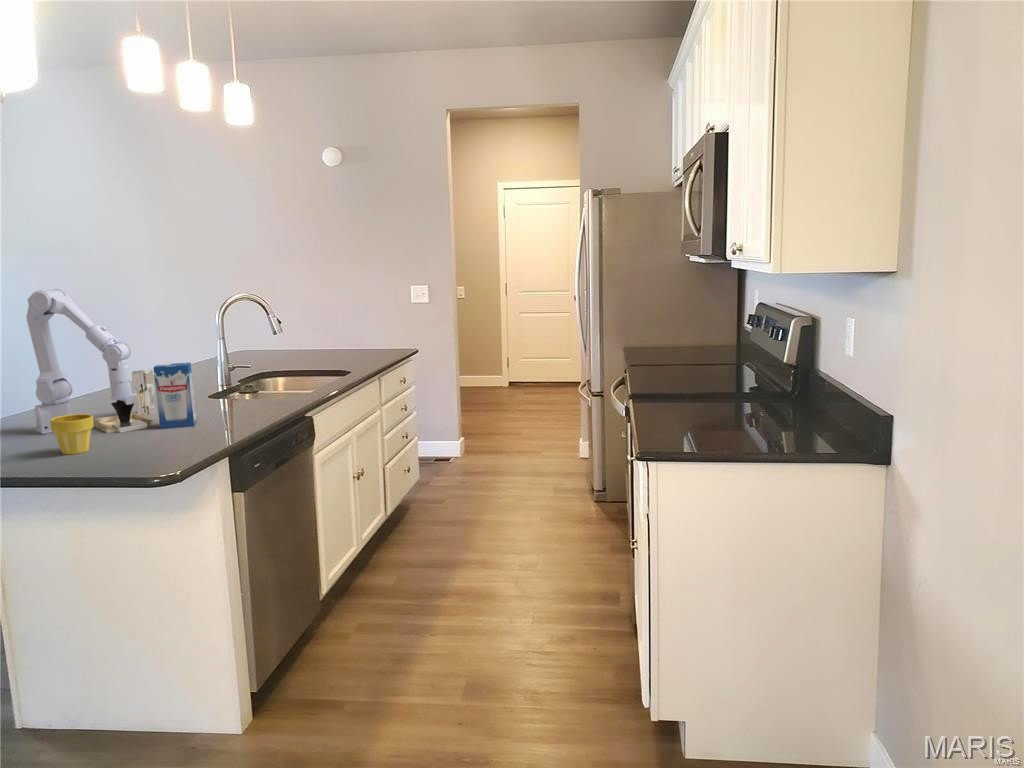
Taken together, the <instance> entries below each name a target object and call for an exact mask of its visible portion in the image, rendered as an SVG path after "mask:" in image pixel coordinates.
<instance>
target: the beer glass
mask: <svg viewBox="0 0 1024 768" xmlns="http://www.w3.org/2000/svg"><path fill="white" fill-rule="evenodd" d="M130 374H131V385H132V386H131V388H132V391H133V393H135V394H136V396H134V397H135V401H136V404H137V411H136V413H137V414H139V415H142V416H144V415H146V416H147V415H152V414H156V413H157V409H156V406H155V395H156V386H155V377H154V369H140V370H135V371H134V370H133V371H131V373H130Z"/></svg>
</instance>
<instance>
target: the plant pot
mask: <svg viewBox="0 0 1024 768" xmlns="http://www.w3.org/2000/svg"><path fill="white" fill-rule="evenodd" d="M93 419H94V416H93V415H92V414H89V413H75V414H74V413H73V414H71V415H65V416H59V417H55V418H52V419H51V420H50V423H51V430H52V432H51V433H53V434H54V435H55V437H56V440H57V443H58V446H59V450H60V451H61V454H63V455H77V454H83V453H86V452H88V451H89V450H90V444H91V443H90V442H91V434H92V429H93V428H95V427H94V424H93Z"/></svg>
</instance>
